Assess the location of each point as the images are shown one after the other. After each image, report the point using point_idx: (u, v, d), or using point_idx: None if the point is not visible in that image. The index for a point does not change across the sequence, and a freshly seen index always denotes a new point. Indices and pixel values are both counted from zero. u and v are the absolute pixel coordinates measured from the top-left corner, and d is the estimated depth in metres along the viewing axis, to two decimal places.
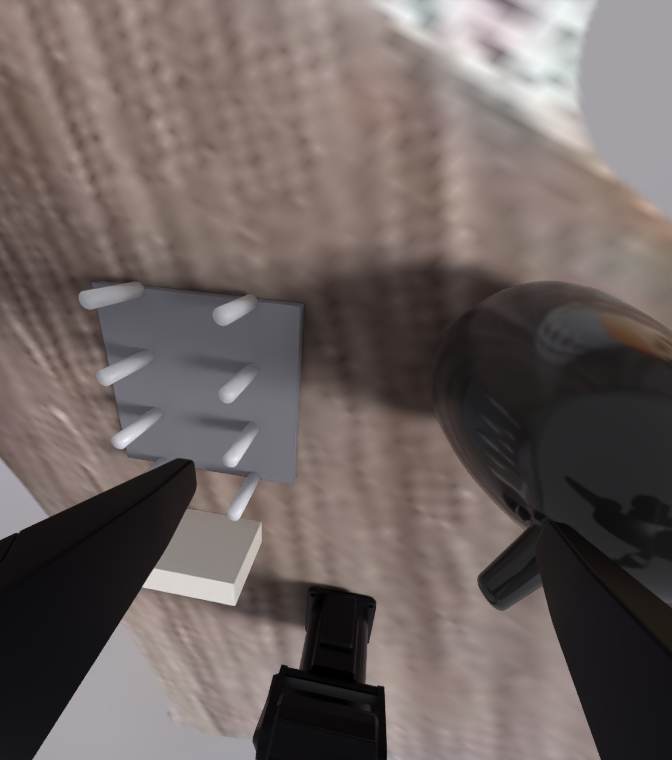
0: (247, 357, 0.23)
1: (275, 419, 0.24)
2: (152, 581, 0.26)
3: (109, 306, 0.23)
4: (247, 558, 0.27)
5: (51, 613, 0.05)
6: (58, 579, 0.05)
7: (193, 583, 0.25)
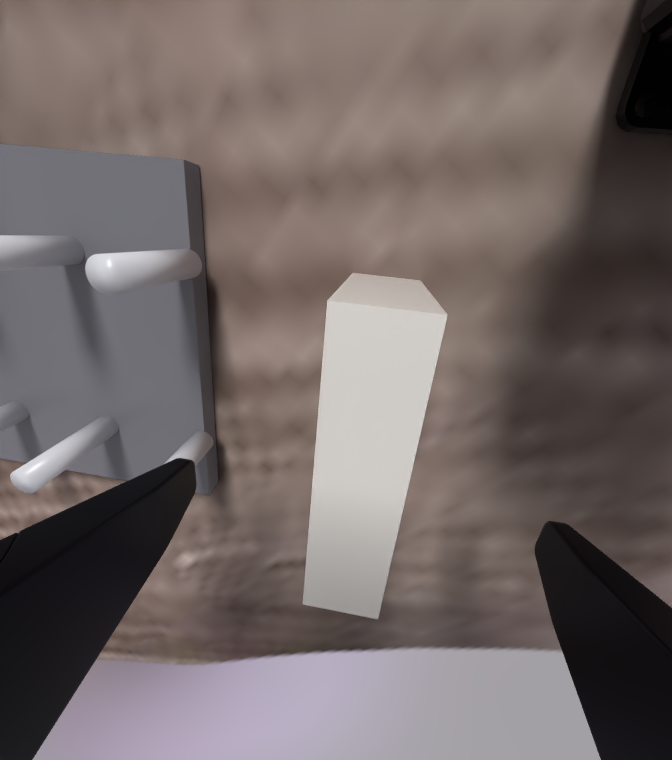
0: None
1: (35, 196, 0.12)
2: (361, 538, 0.10)
3: None
4: (361, 287, 0.09)
5: (51, 613, 0.05)
6: (58, 579, 0.05)
7: (350, 434, 0.08)
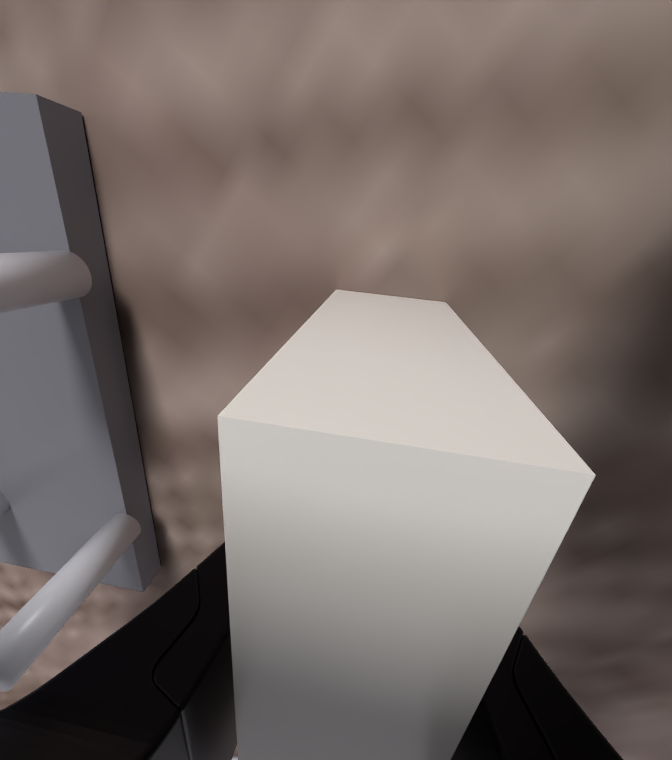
0: None
1: None
2: None
3: None
4: (342, 330, 0.05)
5: None
6: None
7: (308, 688, 0.04)
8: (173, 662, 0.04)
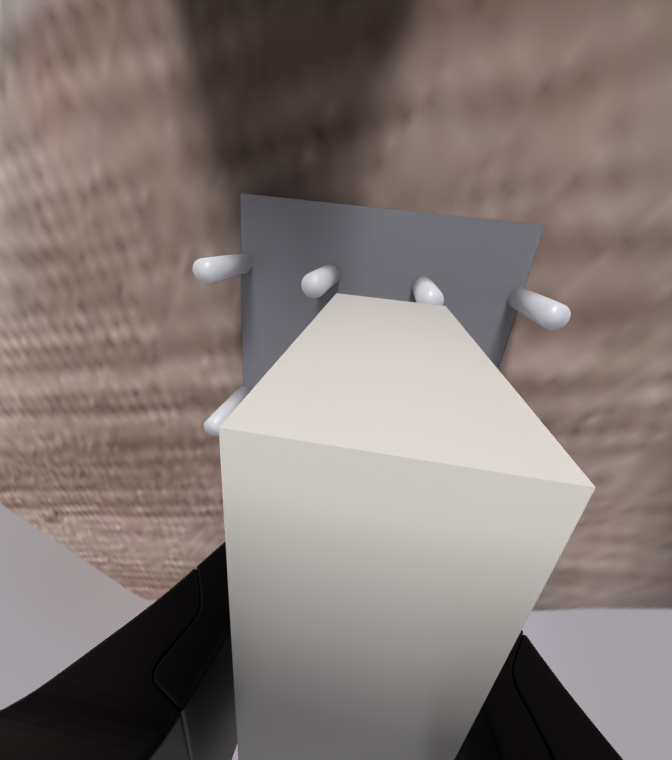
0: None
1: (408, 246, 0.16)
2: None
3: None
4: (342, 336, 0.05)
5: None
6: None
7: (308, 695, 0.04)
8: (173, 662, 0.04)
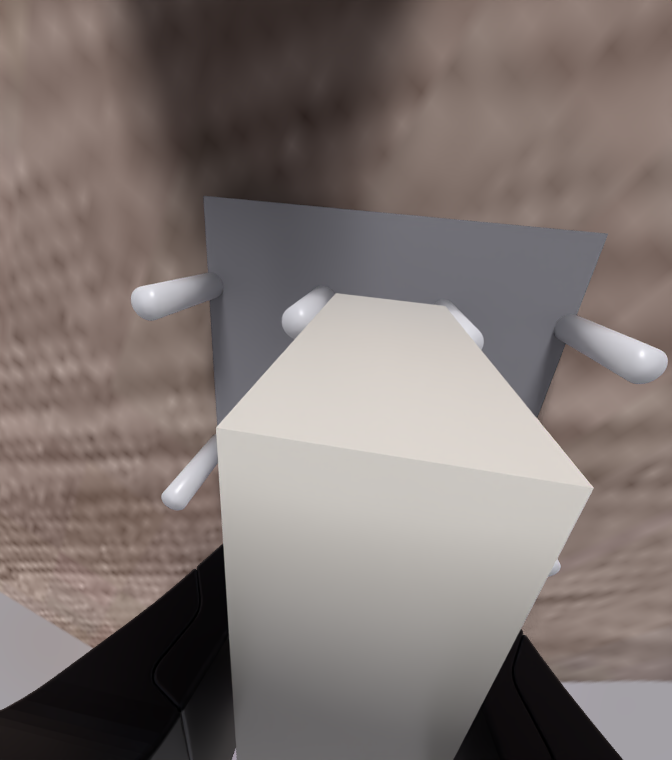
0: None
1: (424, 263, 0.12)
2: None
3: None
4: (341, 336, 0.05)
5: None
6: None
7: (307, 695, 0.04)
8: (174, 661, 0.04)
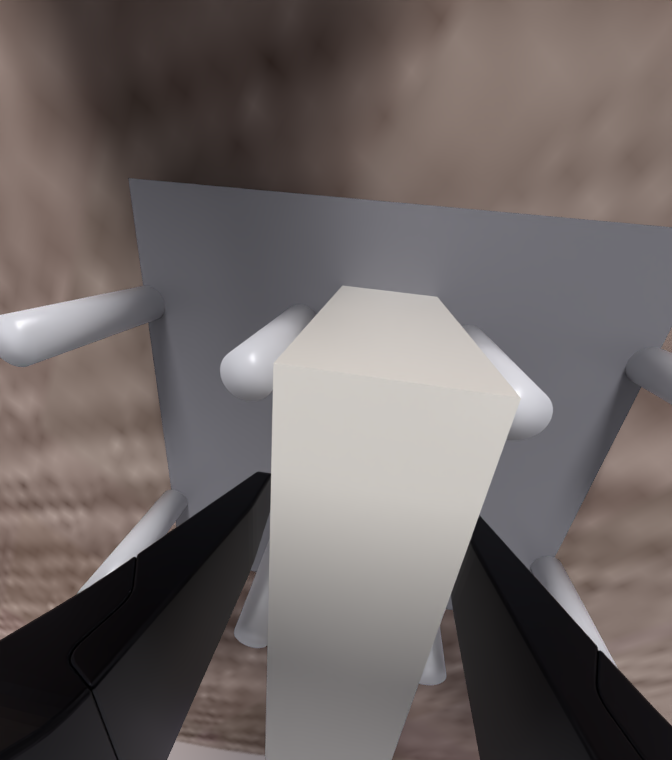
0: None
1: (443, 273, 0.09)
2: (350, 716, 0.06)
3: None
4: (351, 316, 0.06)
5: (176, 641, 0.05)
6: (183, 606, 0.05)
7: (326, 582, 0.05)
8: (93, 644, 0.04)
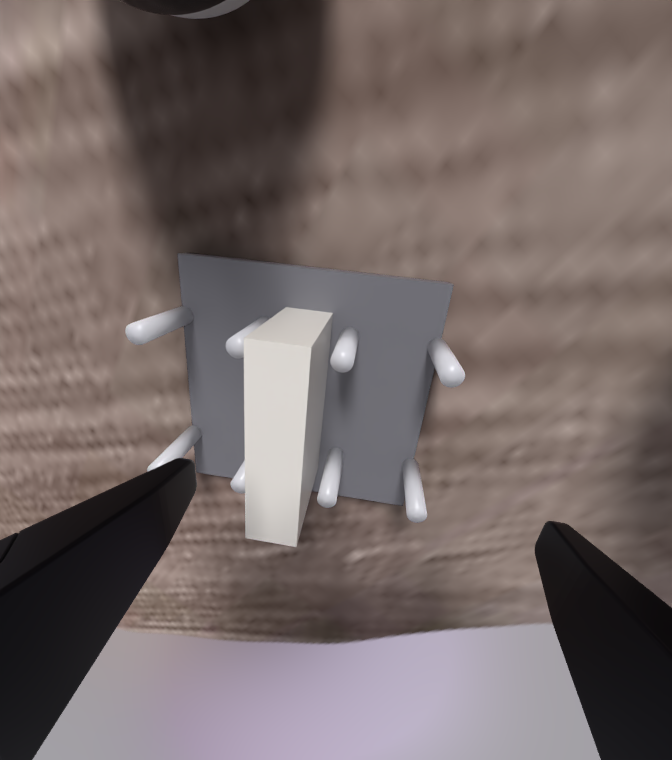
0: None
1: (334, 301, 0.17)
2: (279, 487, 0.15)
3: (216, 464, 0.22)
4: (278, 323, 0.15)
5: (51, 613, 0.05)
6: (58, 579, 0.05)
7: (264, 417, 0.13)
8: None
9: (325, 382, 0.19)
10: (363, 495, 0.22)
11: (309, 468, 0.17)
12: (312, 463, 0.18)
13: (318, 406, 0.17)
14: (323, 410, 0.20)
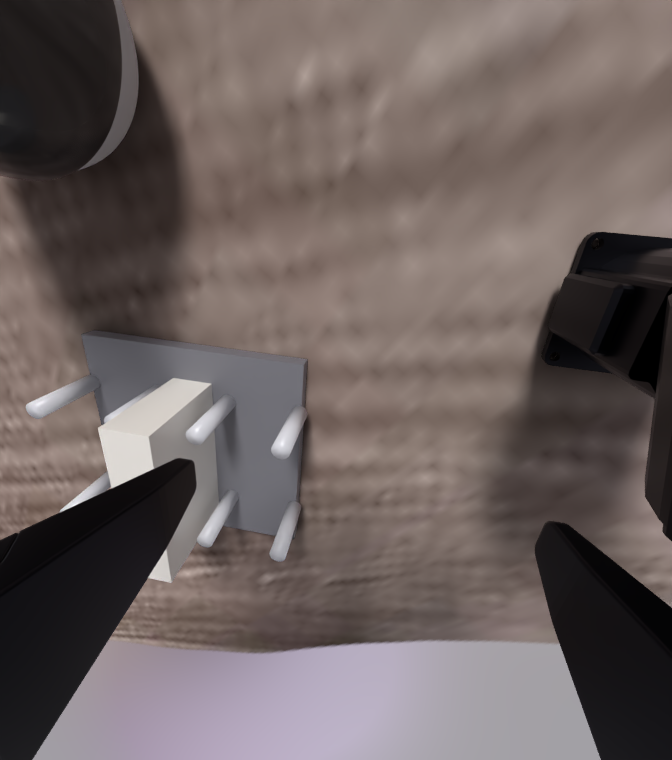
0: None
1: (211, 375, 0.20)
2: None
3: None
4: (146, 404, 0.18)
5: (51, 613, 0.05)
6: (58, 579, 0.05)
7: None
8: None
9: (211, 439, 0.22)
10: (259, 529, 0.25)
11: (187, 515, 0.20)
12: (196, 509, 0.21)
13: (195, 463, 0.20)
14: None
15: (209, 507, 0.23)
